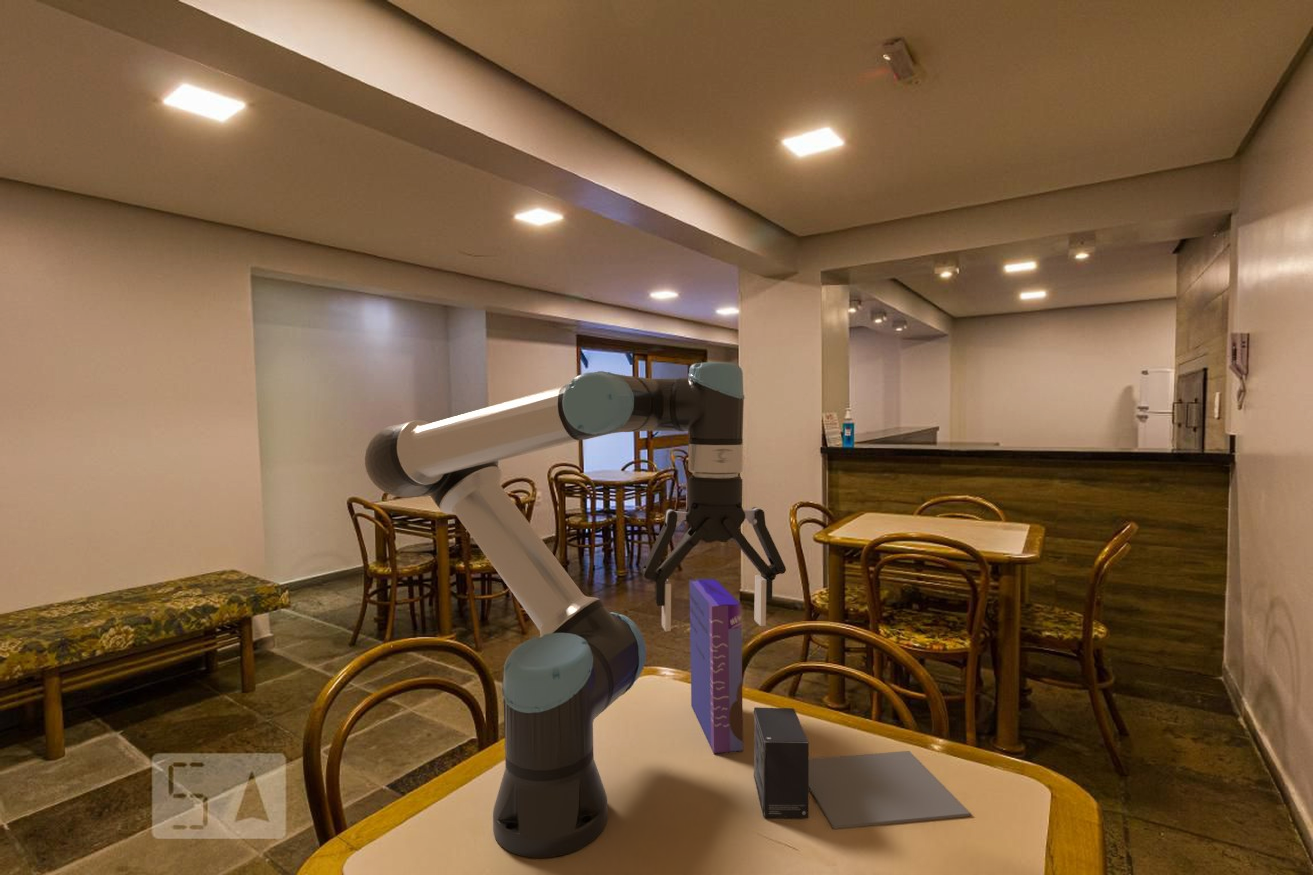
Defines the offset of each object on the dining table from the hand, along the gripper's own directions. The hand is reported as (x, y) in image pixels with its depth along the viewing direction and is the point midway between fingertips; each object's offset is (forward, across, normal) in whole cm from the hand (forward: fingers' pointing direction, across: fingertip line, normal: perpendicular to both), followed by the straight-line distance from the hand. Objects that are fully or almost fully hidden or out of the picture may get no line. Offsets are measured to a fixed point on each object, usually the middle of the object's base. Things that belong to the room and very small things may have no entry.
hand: (713, 625), depth 89 cm
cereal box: (+25, +6, +19) cm, 32 cm away
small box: (+24, +10, -2) cm, 26 cm away
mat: (+24, +24, -3) cm, 34 cm away
